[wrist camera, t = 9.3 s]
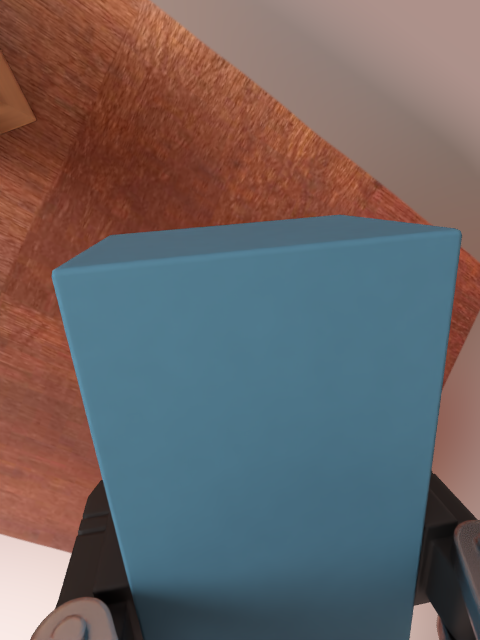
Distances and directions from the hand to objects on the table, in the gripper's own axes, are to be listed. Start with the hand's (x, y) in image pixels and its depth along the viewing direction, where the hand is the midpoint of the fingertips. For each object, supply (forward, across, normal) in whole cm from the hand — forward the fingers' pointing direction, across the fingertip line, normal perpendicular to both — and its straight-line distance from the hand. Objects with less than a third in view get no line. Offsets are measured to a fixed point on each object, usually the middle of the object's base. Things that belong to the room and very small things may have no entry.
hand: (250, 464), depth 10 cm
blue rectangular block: (0, 0, -1) cm, 1 cm away
